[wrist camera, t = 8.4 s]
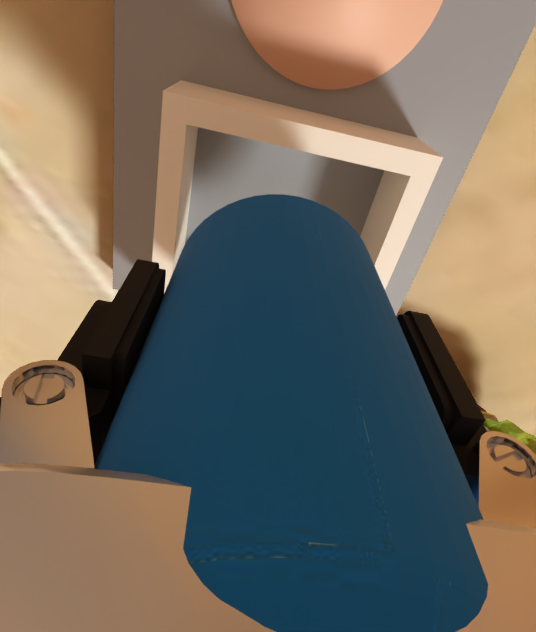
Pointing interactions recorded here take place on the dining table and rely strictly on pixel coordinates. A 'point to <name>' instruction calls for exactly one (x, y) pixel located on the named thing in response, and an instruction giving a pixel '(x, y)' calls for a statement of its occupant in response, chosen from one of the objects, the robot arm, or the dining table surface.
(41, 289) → the dining table surface
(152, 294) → the robot arm
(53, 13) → the dining table surface
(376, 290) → the beverage can
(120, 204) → the board
